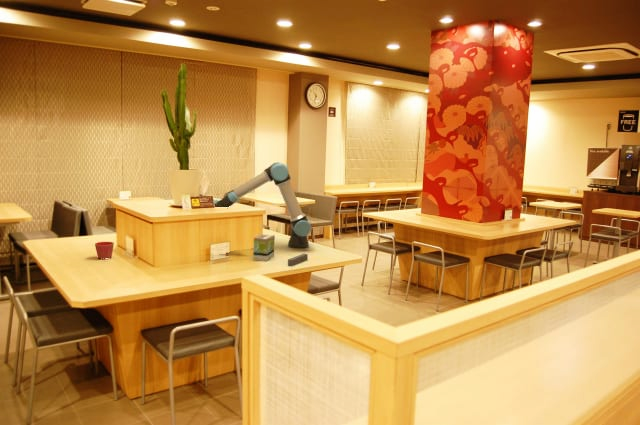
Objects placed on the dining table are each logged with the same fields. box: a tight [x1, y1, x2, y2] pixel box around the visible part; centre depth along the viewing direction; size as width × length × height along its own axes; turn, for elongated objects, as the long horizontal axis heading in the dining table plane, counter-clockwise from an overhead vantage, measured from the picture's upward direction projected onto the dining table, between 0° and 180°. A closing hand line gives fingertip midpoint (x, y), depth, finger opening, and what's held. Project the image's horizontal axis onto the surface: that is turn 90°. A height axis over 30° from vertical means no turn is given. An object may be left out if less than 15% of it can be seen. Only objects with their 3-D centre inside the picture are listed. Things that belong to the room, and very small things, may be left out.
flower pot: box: [94, 241, 115, 259], centre depth 320 cm, size 11×11×10 cm
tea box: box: [252, 234, 276, 262], centre depth 329 cm, size 15×10×15 cm, turn 168°
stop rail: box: [287, 253, 309, 267], centre depth 320 cm, size 20×3×4 cm, turn 153°
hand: (245, 247), depth 336 cm, fingers closed
